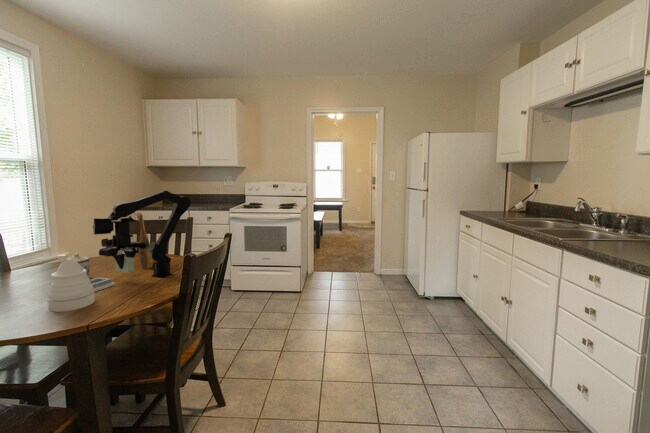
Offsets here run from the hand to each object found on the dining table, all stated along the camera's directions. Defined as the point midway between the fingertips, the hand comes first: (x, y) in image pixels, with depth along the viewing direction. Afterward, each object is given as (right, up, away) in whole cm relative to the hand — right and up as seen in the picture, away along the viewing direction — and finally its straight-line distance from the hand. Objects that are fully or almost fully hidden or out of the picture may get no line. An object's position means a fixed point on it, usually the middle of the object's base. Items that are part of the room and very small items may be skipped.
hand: (124, 267), depth 141 cm
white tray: (-8, -7, -9) cm, 14 cm away
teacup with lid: (-23, -6, +4) cm, 24 cm away
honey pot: (-3, -9, -26) cm, 28 cm away
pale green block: (0, -2, 0) cm, 2 cm away
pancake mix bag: (-6, -3, +27) cm, 28 cm away
